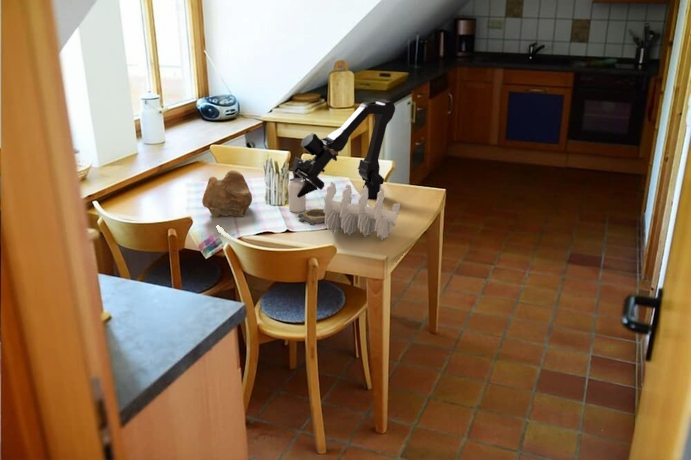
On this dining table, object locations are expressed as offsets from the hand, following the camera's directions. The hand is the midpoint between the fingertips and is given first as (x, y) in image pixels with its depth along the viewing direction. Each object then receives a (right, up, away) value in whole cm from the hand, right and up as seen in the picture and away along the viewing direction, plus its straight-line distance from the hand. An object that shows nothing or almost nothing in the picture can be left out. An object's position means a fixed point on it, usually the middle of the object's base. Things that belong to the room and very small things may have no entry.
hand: (293, 194), depth 248 cm
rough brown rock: (-23, -7, 0) cm, 24 cm away
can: (+1, -6, +3) cm, 7 cm away
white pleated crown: (+25, -15, -20) cm, 36 cm away
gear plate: (+9, -9, -5) cm, 14 cm away
